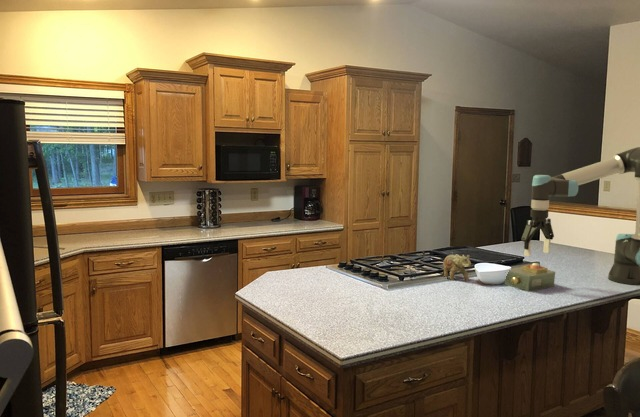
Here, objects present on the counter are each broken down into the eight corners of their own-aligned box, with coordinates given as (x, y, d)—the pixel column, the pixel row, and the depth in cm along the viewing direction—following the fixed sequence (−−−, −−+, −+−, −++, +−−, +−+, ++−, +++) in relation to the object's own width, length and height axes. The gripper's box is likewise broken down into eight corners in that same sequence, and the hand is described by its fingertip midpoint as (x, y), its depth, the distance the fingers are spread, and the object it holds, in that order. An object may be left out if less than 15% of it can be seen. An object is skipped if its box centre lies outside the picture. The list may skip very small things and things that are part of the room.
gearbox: (530, 279, 257) (531, 262, 255) (554, 286, 245) (556, 268, 244) (501, 284, 246) (503, 267, 245) (526, 292, 235) (527, 273, 234)
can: (532, 280, 251) (534, 262, 250) (541, 283, 247) (543, 264, 246) (526, 282, 249) (528, 263, 247) (535, 284, 245) (536, 265, 244)
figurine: (451, 290, 249) (455, 259, 242) (436, 274, 263) (439, 244, 256) (471, 287, 251) (475, 257, 245) (455, 272, 265) (459, 242, 259)
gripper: (549, 206, 253) (546, 250, 255) (514, 209, 240) (512, 255, 243) (564, 208, 246) (561, 253, 249) (528, 211, 233) (525, 259, 236)
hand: (536, 254), depth 246 cm, fingers open, 13 cm apart
